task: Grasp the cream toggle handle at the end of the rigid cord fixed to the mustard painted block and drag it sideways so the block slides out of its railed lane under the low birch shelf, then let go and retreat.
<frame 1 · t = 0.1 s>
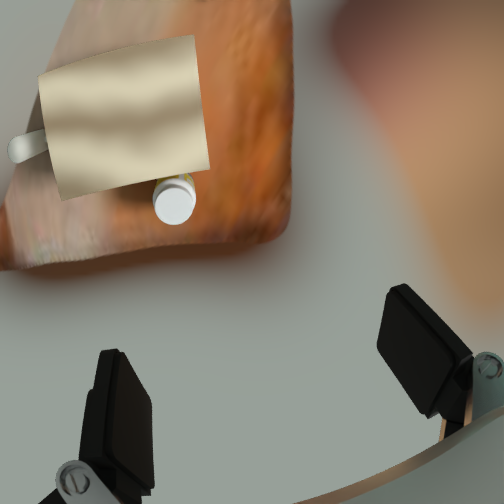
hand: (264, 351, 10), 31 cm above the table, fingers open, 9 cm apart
birch shelf: (138, 112, 32), on the table
supplement bottle: (175, 184, 38), on the table
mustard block: (130, 114, 32), on the table
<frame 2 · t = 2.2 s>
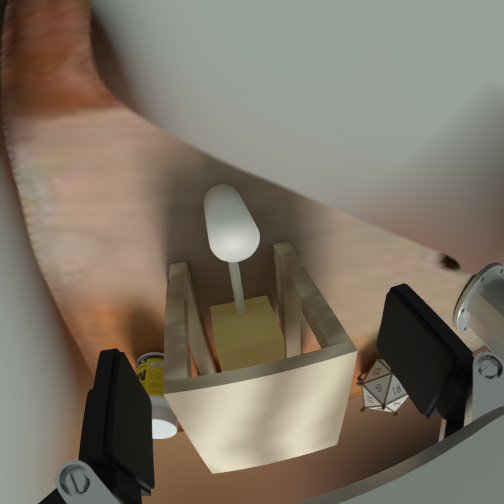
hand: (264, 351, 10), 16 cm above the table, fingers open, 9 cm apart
birch shelf: (243, 330, 31), on the table
supplement bottle: (157, 364, 31), on the table
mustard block: (241, 322, 30), on the table
game die: (373, 364, 39), on the table
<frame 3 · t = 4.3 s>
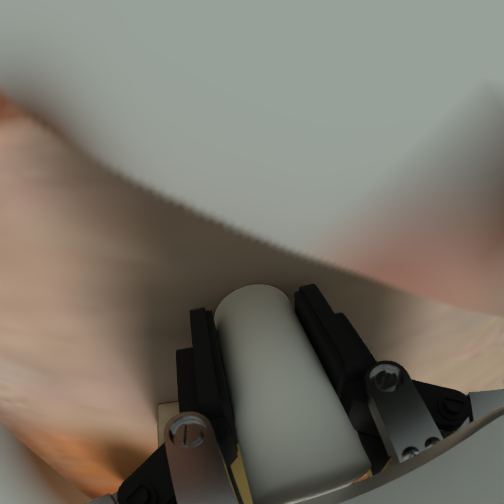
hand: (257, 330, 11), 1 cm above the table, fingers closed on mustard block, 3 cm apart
birch shelf: (273, 454, 18), on the table
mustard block: (272, 448, 18), on the table, touching gripper
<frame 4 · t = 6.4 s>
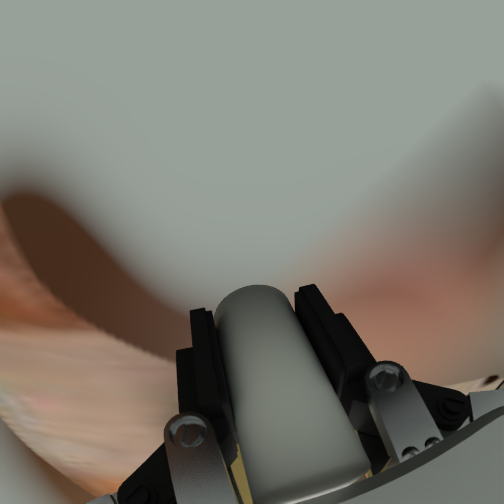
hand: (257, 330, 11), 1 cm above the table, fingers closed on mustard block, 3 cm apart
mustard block: (272, 449, 18), on the table, touching gripper
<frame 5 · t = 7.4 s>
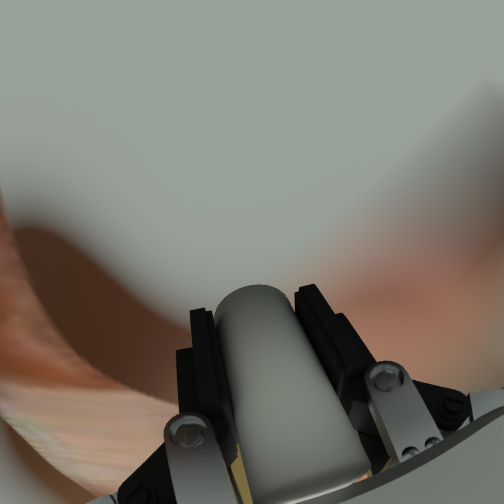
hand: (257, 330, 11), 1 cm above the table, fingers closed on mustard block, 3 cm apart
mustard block: (272, 449, 18), on the table, touching gripper
when the fingers open (1 cm above the table, at t = 8.5 s): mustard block stays where it is, on the table.
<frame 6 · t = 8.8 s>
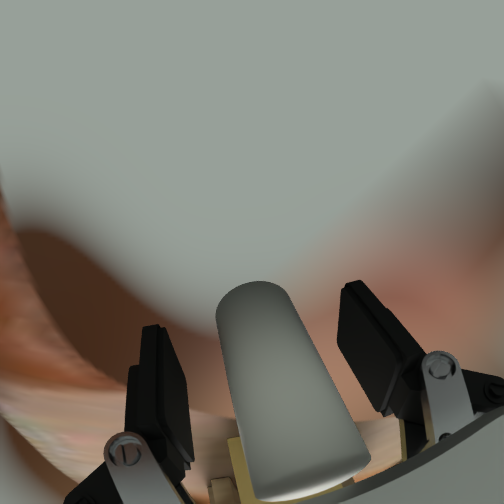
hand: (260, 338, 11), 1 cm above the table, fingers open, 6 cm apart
birch shelf: (279, 493, 24), on the table
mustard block: (273, 446, 18), on the table
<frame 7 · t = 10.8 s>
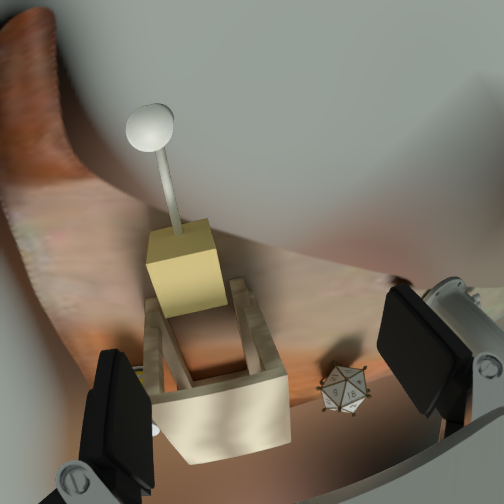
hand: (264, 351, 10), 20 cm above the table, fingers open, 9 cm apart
birch shelf: (210, 346, 36), on the table
supplement bottle: (142, 375, 36), on the table
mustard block: (184, 250, 29), on the table
game die: (333, 370, 45), on the table
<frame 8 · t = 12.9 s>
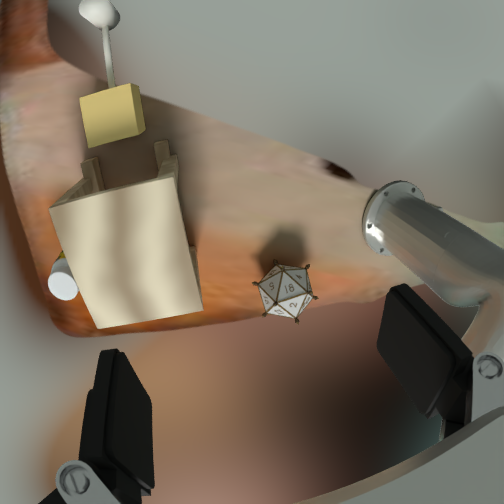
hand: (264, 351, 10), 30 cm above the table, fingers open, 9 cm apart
birch shelf: (141, 217, 38), on the table
supplement bottle: (80, 252, 38), on the table
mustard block: (119, 113, 31), on the table
game die: (277, 275, 46), on the table
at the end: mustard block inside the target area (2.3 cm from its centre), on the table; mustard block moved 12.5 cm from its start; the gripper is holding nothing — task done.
